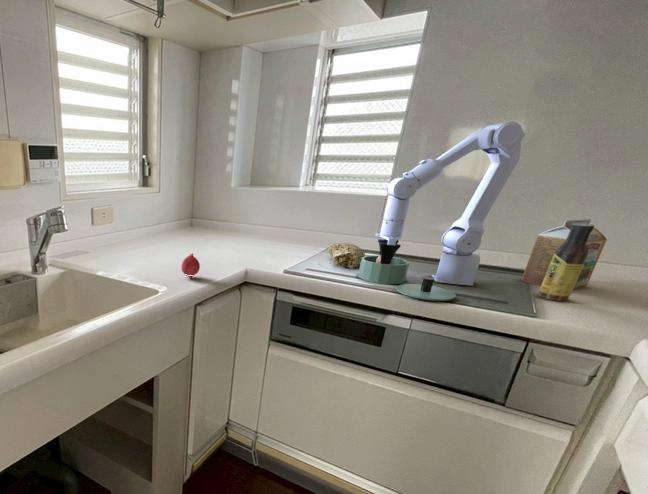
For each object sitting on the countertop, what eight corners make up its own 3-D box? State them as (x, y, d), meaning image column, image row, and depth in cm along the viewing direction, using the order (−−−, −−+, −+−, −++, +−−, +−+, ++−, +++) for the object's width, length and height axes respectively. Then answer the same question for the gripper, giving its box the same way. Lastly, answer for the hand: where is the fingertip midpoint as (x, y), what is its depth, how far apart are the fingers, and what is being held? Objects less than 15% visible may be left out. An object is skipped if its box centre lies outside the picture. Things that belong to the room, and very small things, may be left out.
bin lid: (448, 290, 116) (453, 275, 114) (460, 305, 104) (465, 288, 102) (393, 285, 121) (397, 270, 119) (398, 298, 109) (402, 282, 108)
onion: (184, 280, 126) (185, 255, 123) (178, 276, 132) (179, 252, 129) (201, 279, 128) (203, 254, 125) (195, 274, 133) (196, 250, 130)
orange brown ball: (390, 267, 128) (393, 253, 126) (391, 270, 124) (395, 256, 122) (374, 266, 130) (377, 252, 128) (375, 269, 126) (378, 254, 124)
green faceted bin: (401, 275, 131) (406, 257, 129) (406, 286, 120) (411, 266, 118) (357, 271, 136) (361, 254, 134) (358, 281, 125) (362, 262, 123)
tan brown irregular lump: (362, 273, 138) (368, 251, 152) (361, 252, 135) (368, 231, 149) (321, 275, 146) (331, 253, 160) (320, 255, 142) (329, 234, 156)
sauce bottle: (536, 293, 113) (564, 221, 106) (567, 297, 110) (598, 223, 102) (537, 299, 109) (566, 224, 101) (569, 304, 105) (602, 226, 97)
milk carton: (561, 290, 116) (589, 223, 108) (521, 280, 125) (543, 218, 118) (586, 287, 118) (614, 221, 111) (544, 277, 128) (568, 216, 120)
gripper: (377, 216, 129) (368, 258, 134) (380, 222, 117) (370, 268, 122) (402, 217, 126) (392, 260, 131) (408, 223, 114) (397, 270, 119)
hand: (383, 264), depth 126 cm, fingers closed on orange brown ball, 4 cm apart
